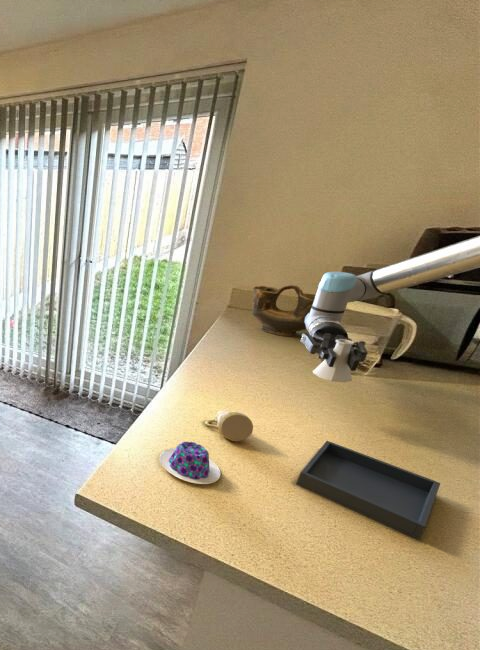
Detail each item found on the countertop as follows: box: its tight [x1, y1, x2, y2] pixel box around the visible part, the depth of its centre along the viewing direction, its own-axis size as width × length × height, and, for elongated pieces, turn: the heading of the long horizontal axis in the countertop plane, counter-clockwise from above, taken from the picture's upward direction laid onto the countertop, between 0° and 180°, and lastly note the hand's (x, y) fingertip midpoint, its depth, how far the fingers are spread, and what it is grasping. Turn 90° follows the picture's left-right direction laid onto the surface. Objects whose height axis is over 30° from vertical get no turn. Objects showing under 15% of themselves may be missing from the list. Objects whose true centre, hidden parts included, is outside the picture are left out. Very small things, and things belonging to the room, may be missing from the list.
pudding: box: [159, 441, 221, 485], centre depth 86 cm, size 12×12×5 cm
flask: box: [312, 339, 354, 384], centre depth 99 cm, size 7×7×10 cm
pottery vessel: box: [251, 284, 316, 338], centre depth 158 cm, size 25×11×20 cm, turn 38°
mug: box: [204, 410, 254, 442], centre depth 98 cm, size 8×10×10 cm
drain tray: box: [295, 440, 441, 541], centre depth 79 cm, size 18×18×3 cm
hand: (343, 363), depth 94 cm, fingers closed on flask, 3 cm apart
